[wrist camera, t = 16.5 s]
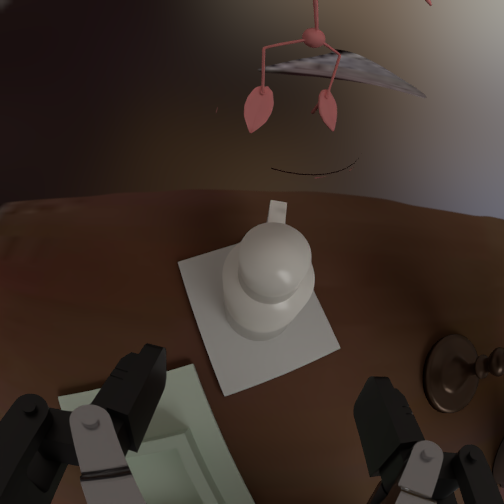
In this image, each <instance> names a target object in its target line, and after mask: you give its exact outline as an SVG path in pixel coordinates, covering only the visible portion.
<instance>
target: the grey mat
mask: <svg viewBox="0 0 504 504" xmlns="http://www.w3.org/2000/svg"><path fill="white" fill-rule="evenodd" d="M236 245H237V244H235V245H231V246H228V247H225V248H222V249H218V250H215V251H212V252H209V253H205V254H202V255H199V256H196V257H192V258H189V259H186V260H183V261H180V262H178V265H179V268H180V272H181V275H182V278H183V281H184V285H185V288H186V291H187V294H188V297H189V300H190V303H191V306H192V310H193V313H194V316H195V318H196V321H197V324H198V327H199V330H200V333H201V336H202V339H203V341H204V344H205V347H206V350H207V353H208V355H209V358H210V361H211V363H212V366H213V369H214V371H215V374H216V376H217V379H218V382H219V384H220V387H221V389H222V392H223V394H224V397H225V396H228V395H231V394H233V393H236V392H239V391H242V390H245V389H247V388H250V387H253V386H255V385H258V384H261V383H263V382H266V381H268V380H271V379H273V378H276V377H278V376H281V375H283V374H285V373H288V372H290V371H292V370H295V369H297V368H299V367H302V366H304V365H306V364H308V363H310V362H313V361H315V360H317V359H319V358H321V357H323V356H325V355H328V354H330V353H332V352H334V351H336V350H338V349H340V346H339V344H338V342H337V339H336V337H335V335H334V333H333V331H332V328H331V326H330V324H329V322H328V320H327V318H326V316H325V314H324V311H323V309H322V307H321V305H320V303H319V301H318V299H317V297H316V295H315V293H314V290H313V292H312V294H311V297H310V298H309V300H308V302H307V303H306V304H305V306H304V307H303V308H302V309H301V311H300V312H299V313H298V314H297V315H296V317H295V318H294V319H293V320H292V322H291V323H290V324H289V325H288V326H287V328H286V329H285V330H284V331H283V332H282V333H281V334H280V335H278V336H276V337H274V338H272V339H269V340H265V341H253V340H249V339H246V338H244V337H242V336H240V335H239V334H238V333H236V332H235V331H234V330H233V329H232V327H231V326H230V324H229V323H228V320H227V318H226V314H225V305H224V292H223V279H222V272H223V266H224V262H225V260H226V258H227V256H228V254H229V253H230V251H231V250H232V249H233V248H234V247H235V246H236Z"/></svg>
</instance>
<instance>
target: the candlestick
mask: <svg viewBox="0 0 504 504" xmlns="http://www.w3.org/2000/svg"><path fill="white" fill-rule="evenodd" d="M489 372H490V373H491V374H492V375H494V376H501V375H503V374H504V348H501V347H498V348H496V349H495V350H494V351H493V352H492V353H491V354H490V356H489V357H487V356H486V355H480V356H478V355H477V352H476V350H475V348H474V346H473V344H472V343H471V342H470V341H469V340H468V339H467V338H466V337H464V336H462V335H459V334H452V335H449V336H446V337H444V338H441V339H440V340H439V341H437V342H436V343H435V344H434V345H433V347H432V348H431V350H430V351H429V353H428V356H427V358H426V361H425V365H424V371H423V386H424V392H425V395H426V398H427V400H428V402H429V404H430V405H431V406H432V407H433V408H434V409H435V410H437V411H439V412H442V413H454V412H458V411H460V410H461V409H463V408H464V407H465V406H466V405H468V403H469V402H470V401H471V399H472V398H473V396H474V394H475V392H476V389H477V386H478V382H479V379H482V378H485V377H486V376H487V375H488V373H489Z"/></svg>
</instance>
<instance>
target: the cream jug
mask: <svg viewBox="0 0 504 504" xmlns="http://www.w3.org/2000/svg"><path fill="white" fill-rule="evenodd" d="M286 208H287V203H286V202H280V201H274V200H271V201H270V206H269V212H268V217H267V222H266V223H263V224H260V225H257V226H255V227H254V228H252V229H251V230H250V231H248V232H247V234H246V235H245V236H244V238H243V239H242V241H241V242H240V243H238V244H237V245H236V246H235V247H234V248H233V249H232V250H231V251H230V253H229V254H228V256H227V258H226V260H225V262H224V266H223V272H222V279H223V292H224V305H225V314H226V318H227V320H228V323H229V324H230V326H231V327H232V329H233V330H234V331H235V332H236V333H238V334H239V335H240V336H242V337H244V338H246V339H249V340H253V341H265V340H269V339H272V338H274V337H276V336H278V335H280V334H281V333H282V332H283V331H284V330H285V329H286V328H287V326H288V325H289V324H290V323H291V322H292V320H293V319H294V318H295V317H296V315H297V314H298V313H299V312H300V311H301V309H302V308H303V307H304V306H305V304H306V303H307V302H308V300H309V298H310V297H311V294H312V292H313V288H314V282H315V276H314V270H313V266H312V264H311V250H310V246H309V244H308V242H307V240H306V239H305V237H304V236H303V235H302V234H301V233H300V232H299V231H297V230H296V229H295V228H293V227H291V226H289V225H286V224H285V219H286Z"/></svg>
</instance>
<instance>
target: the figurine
mask: <svg viewBox="0 0 504 504" xmlns="http://www.w3.org/2000/svg"><path fill="white" fill-rule="evenodd" d="M425 1H426V2H427V3H428V4H429V5H430V6H431V5H432V4H431V1H430V0H425ZM313 7H314V19H315V28H309V29H307V30H305V31H304V33H303V35H302V38H303V39H300V40H295V41H289V42H284V43H278V44H274V45H269V46H265V47H264V48H262V86H258V87H256V88H255V89H254V90H253V91H252V92H251V94H250V95H249V96H248V98H247V100H246V103H245V105H244V118H245V121H246V124H247V127H248V129H249V132H250V133H252V132H254V131H256V130H257V129H258V128H259V127H261V126H262V125H263V124H264V123H265V122H266V121H267V119H268V117H269V116H270V115H271V113H272V108H273V105H274V101H273V92H272V91H271V90H270V89H269V87H268V86H267V87H265V86H264V81H265V49H266V48H271V47H276V46H281V45H287V44H293V43H298V42H304V43H305V44H306V45H307V46H309V47H312V48H317V47H320V46H322V45H325V46H326V47H328V48H329V49H330V50H332V51H333V52H335V53H336V54H337V55H339V56H338V59H337V62H336V65H335V69H334V72H333V75H332V78H331V82H330V85H329V88H328V90H326V89H324V90H321V92H320V94H319V100H318V103H317V105H316V106H315V107H314V109H313V110H312V111H311V113H312V114H314V113H315V111H316V110H317V109H318V108H319V114H320V116H321V118H322V120H323V122H324V123H325V124H326V125H327V127H328V128H329V129H330V130H331V131H334V129H335V125H336V120H337V106H336V102H335V100H334V98H333V96H332V94H331V92H330V89H331V86H332V83H333V80H334V77H335V74H336V71H337V67H338V64H339V61H340V58H341V54H340V53H338V52H337V51H336V50H335V49H333V48H332V47H330V46H329V45H328V44H326V43H325V36H324V34H323V32H322V31H320V30H319V29H318V0H313ZM350 166H351V165H350ZM272 169H273V168H272ZM274 170H277V169H274ZM343 170H344V169H343ZM279 171H281V170H279ZM282 172H285V171H282ZM337 172H339V171H337ZM287 173H291V172H287ZM332 173H334V172H332ZM294 174H297V173H294ZM327 174H328V173H327ZM329 174H330V173H329ZM299 175H310V174H299ZM311 175H313V174H311ZM314 175H322V174H314ZM323 175H324V174H323ZM317 178H318V177H317Z"/></svg>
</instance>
